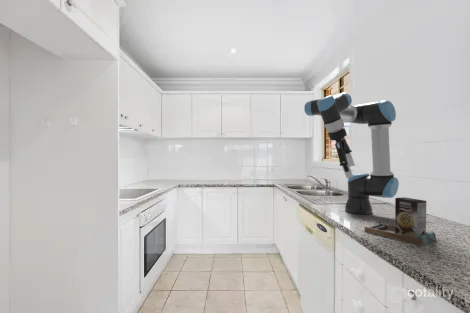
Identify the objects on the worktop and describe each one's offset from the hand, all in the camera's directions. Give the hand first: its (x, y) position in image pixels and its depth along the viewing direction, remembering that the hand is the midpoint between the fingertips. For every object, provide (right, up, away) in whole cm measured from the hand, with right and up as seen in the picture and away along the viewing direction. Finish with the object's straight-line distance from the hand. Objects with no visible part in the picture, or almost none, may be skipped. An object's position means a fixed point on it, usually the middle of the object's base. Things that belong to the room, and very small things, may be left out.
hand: (350, 171), depth 120 cm
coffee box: (+18, -27, -14) cm, 35 cm away
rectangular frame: (+16, -27, -10) cm, 33 cm away
